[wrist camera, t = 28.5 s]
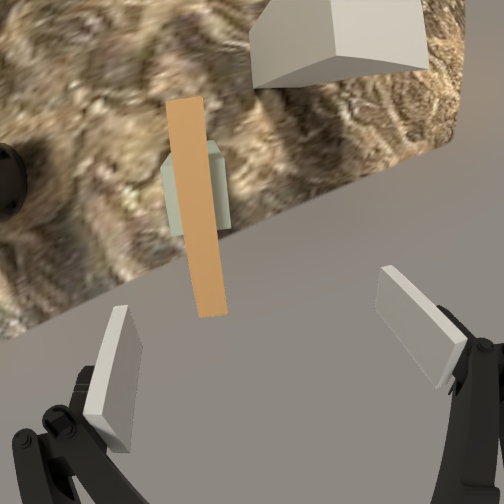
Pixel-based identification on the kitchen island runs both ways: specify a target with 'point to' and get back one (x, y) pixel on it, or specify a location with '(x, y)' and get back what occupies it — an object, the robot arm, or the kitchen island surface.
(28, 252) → the kitchen island surface
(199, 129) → the bar
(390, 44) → the post
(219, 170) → the pale green tall block
